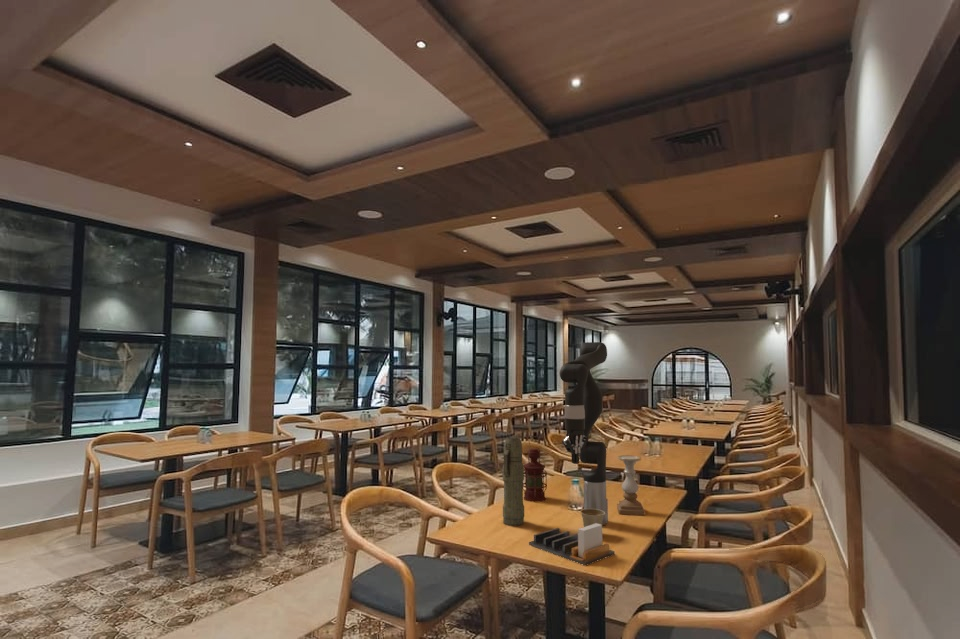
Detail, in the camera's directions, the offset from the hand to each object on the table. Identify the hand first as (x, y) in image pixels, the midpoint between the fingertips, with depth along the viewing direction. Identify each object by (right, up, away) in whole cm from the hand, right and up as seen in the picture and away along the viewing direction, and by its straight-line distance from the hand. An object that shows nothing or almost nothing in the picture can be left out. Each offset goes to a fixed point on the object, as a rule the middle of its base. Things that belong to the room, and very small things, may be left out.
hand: (575, 463), depth 202 cm
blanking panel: (+2, -27, -17) cm, 32 cm away
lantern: (-9, -33, +59) cm, 68 cm away
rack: (-4, -28, -10) cm, 30 cm away
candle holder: (+31, -32, +37) cm, 58 cm away
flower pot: (+8, -30, +6) cm, 31 cm away
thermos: (-22, -31, +21) cm, 43 cm away
